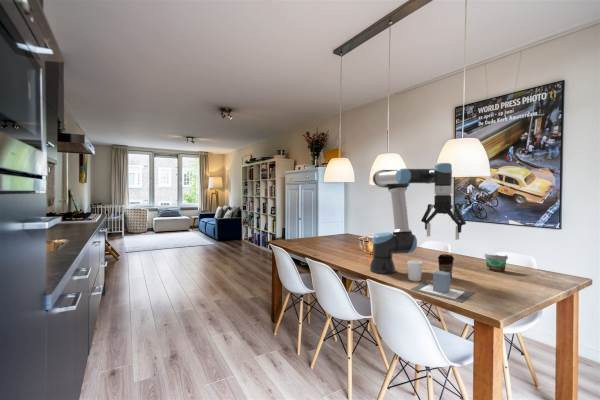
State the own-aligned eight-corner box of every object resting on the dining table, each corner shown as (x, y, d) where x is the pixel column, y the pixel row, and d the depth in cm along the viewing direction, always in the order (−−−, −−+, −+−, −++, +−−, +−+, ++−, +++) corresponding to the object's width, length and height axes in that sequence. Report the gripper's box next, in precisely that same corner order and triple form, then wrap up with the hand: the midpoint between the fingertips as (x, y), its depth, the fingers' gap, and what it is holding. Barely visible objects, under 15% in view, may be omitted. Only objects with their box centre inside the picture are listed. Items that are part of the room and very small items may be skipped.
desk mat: (410, 289, 147) (410, 289, 147) (425, 281, 159) (425, 281, 159) (462, 302, 130) (462, 302, 130) (474, 292, 142) (474, 292, 142)
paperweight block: (433, 290, 145) (433, 272, 144) (437, 287, 149) (438, 270, 148) (445, 293, 140) (445, 275, 140) (450, 290, 144) (450, 272, 144)
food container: (486, 271, 179) (486, 255, 179) (484, 268, 185) (484, 253, 184) (510, 273, 174) (510, 257, 174) (507, 270, 180) (507, 254, 180)
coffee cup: (456, 280, 162) (456, 257, 161) (440, 279, 163) (440, 256, 163) (451, 275, 170) (451, 253, 170) (436, 275, 172) (436, 253, 172)
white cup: (415, 282, 159) (415, 264, 158) (403, 278, 166) (404, 261, 165) (425, 280, 162) (425, 262, 162) (413, 276, 169) (414, 259, 169)
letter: (419, 289, 146) (419, 289, 146) (429, 283, 155) (429, 283, 155) (455, 298, 134) (455, 298, 134) (464, 291, 143) (464, 291, 143)
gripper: (414, 194, 149) (414, 235, 150) (468, 195, 131) (467, 241, 132) (421, 194, 155) (420, 234, 155) (473, 194, 137) (473, 239, 137)
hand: (442, 237), depth 144 cm, fingers open, 13 cm apart
